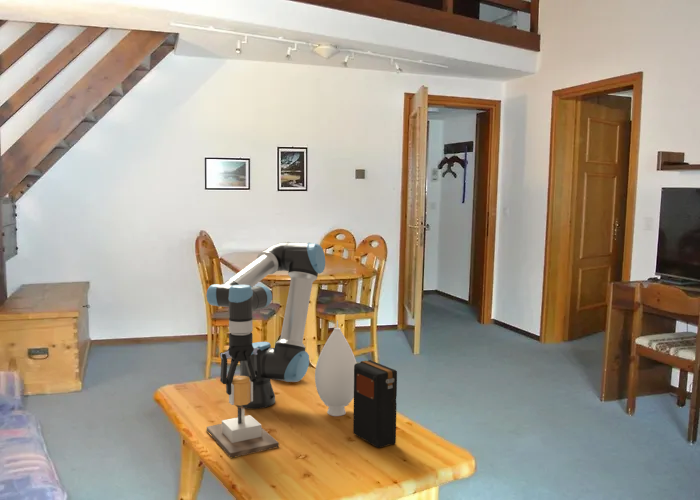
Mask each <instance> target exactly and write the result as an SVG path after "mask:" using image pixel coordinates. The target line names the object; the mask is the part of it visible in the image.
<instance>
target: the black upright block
mask: <svg viewBox="0 0 700 500" xmlns="http://www.w3.org/2000/svg"><path fill="white" fill-rule="evenodd" d="M397 390H398V371H397V370H396V369H394V368H391V367H389V366H386V365H383V364H380V363H379V362H377V361H374V360H371V359H370V360H369V359H368V360H361V361H360V362H357V363H356V364H355V365H354V397H353V424H352V426H353V429H352V430H353V431H352V432H353V434H354V435H355V436H356V437H359V438H360V439H363V440H364V441H366V442H368V443H369V444H370V445H373V446H374V447H376V448H379V449H380V448H383V447H386V446H390V445H392V446H393V445H396V443H397V442H396V441H397V397H398V396H397V395H398V393H397V392H398V391H397Z"/></svg>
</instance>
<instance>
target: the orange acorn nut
mask: <svg viewBox="0 0 700 500" xmlns="http://www.w3.org/2000/svg"><path fill="white" fill-rule="evenodd" d="M232 384H233V385H234V405H233V406H237V405H239V406H241V405H247V404H249V403H250V378H249V377H247V376H240V375H237V376H234V377H233V381H232ZM239 406H238V407H239Z"/></svg>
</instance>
